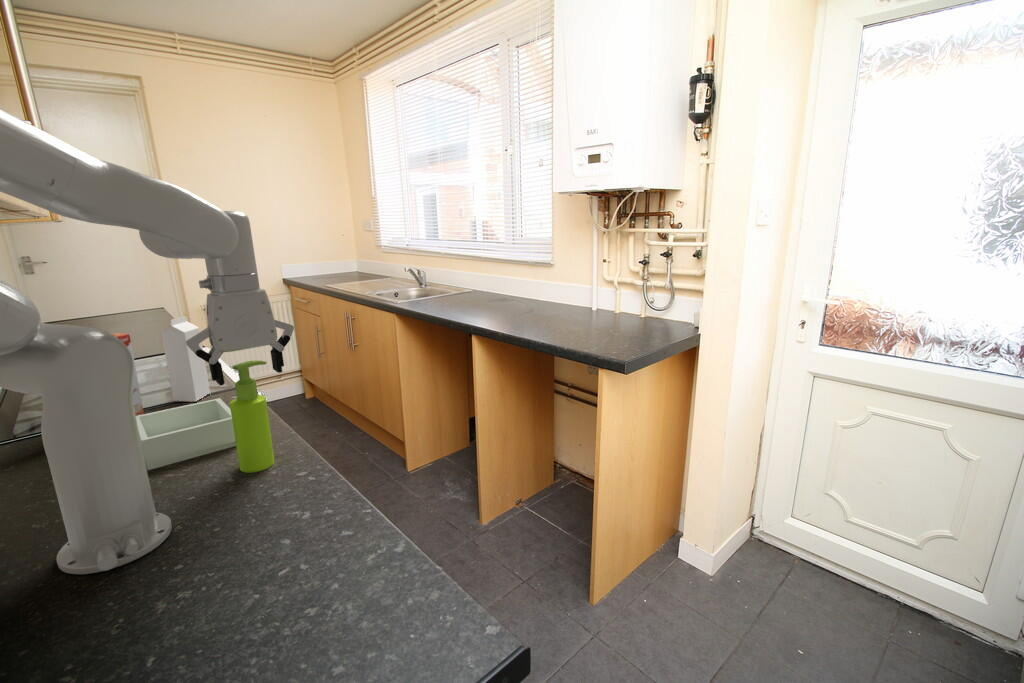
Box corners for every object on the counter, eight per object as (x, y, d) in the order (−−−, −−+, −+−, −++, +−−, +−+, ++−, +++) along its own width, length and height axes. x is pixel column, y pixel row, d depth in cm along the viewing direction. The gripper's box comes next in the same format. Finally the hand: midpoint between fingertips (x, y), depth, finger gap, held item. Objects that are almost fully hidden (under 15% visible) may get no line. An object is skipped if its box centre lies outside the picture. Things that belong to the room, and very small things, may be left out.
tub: (242, 444, 99) (238, 417, 98) (147, 470, 89) (141, 440, 87) (223, 422, 111) (219, 398, 109) (137, 443, 100) (132, 416, 99)
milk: (173, 403, 124) (157, 320, 118) (189, 395, 129) (174, 315, 124) (197, 403, 124) (181, 319, 118) (211, 395, 129) (197, 315, 124)
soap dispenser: (286, 460, 92) (272, 360, 87) (250, 475, 86) (234, 370, 82) (268, 453, 95) (255, 356, 90) (233, 467, 89) (217, 365, 85)
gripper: (179, 292, 75) (199, 394, 79) (293, 281, 86) (305, 370, 90) (171, 287, 80) (190, 383, 84) (279, 277, 91) (291, 362, 96)
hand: (250, 377), depth 87 cm, fingers open, 9 cm apart
